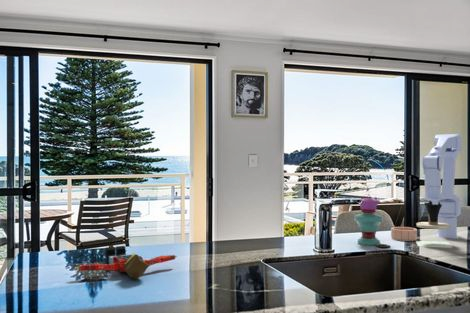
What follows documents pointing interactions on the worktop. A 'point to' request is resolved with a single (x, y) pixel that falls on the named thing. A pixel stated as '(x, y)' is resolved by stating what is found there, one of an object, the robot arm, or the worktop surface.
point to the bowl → (404, 233)
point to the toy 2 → (368, 222)
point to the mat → (433, 244)
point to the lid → (433, 224)
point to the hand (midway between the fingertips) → (433, 221)
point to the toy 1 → (125, 262)
